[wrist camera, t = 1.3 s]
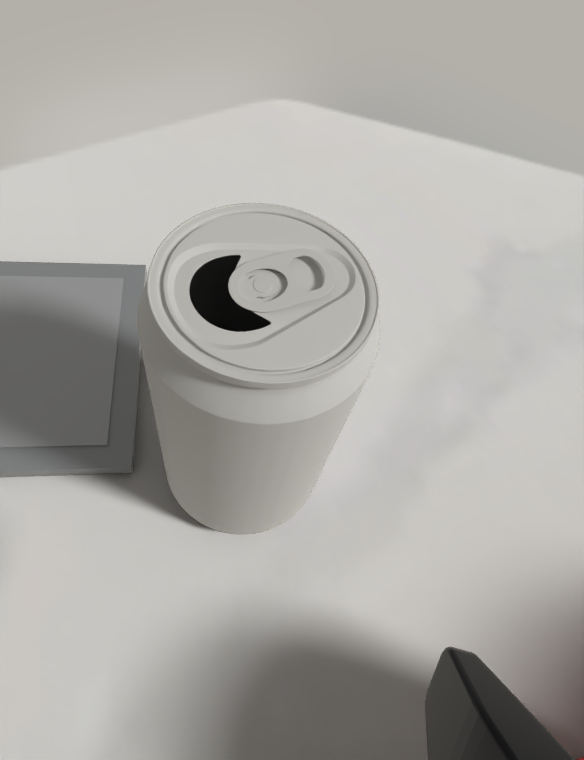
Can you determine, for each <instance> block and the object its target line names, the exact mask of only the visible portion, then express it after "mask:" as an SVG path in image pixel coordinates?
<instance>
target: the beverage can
mask: <svg viewBox="0 0 584 760" xmlns="http://www.w3.org/2000/svg"><path fill="white" fill-rule="evenodd" d="M378 311H379V289H378V285H377V281H376V277H375V275H374V272H373V270H372V268H371V266H370V264H369V262H368V260H367V259H366V257H365V256H364V255H363V253H362V252H361V251H360V249H359V248H358V247H357V246H356V245H355V244H354V243H353V242H352V241H351V240H350V239H349V238H348V237H347V236H346V235H345V234H343V233H342V232H341V231H339V230H338V229H336V228H335V227H334V226H332V225H330V224H329V223H327V222H325V221H323V220H321V219H320V218H318V217H315V216H313V215H311V214H308V213H306V212H303V211H300V210H297V209H293V208H289V207H285V206H280V205H273V204H263V203H244V204H233V205H227V206H222V207H218V208H214V209H211V210H208V211H206V212H203V213H201V214H198V215H196V216H194V217H192V218H190V219H189V220H187V221H185V222H184V223H182V224H181V225H179V226H178V227H177V228H176V229H174V230H173V231H172V232H171V233H170V234H169V235H168V236H167V237H166V238H165V239H164V241H163V242H162V243H161V244H160V246H159V247H158V249H157V251H156V253H155V255H154V258H153V260H152V263H151V266H150V268H149V272H148V278H147V282H146V284H145V287H144V289H143V292H142V294H141V297H140V300H139V303H138V309H137V331H138V336H139V341H140V346H141V351H142V356H143V361H144V366H145V371H146V376H147V381H148V386H149V391H150V396H151V401H152V406H153V411H154V416H155V421H156V426H157V431H158V436H159V441H160V446H161V451H162V456H163V461H164V466H165V471H166V476H167V480H168V483H169V486H170V489H171V491H172V493H173V495H174V497H175V498H176V500H177V501H178V503H179V504H180V506H181V507H182V508H183V509H184V510H185V511H186V512H187V513H188V514H189V515H190V516H191V517H193V518H194V519H195V520H197V521H198V522H200V523H201V524H203V525H205V526H207V527H209V528H212V529H214V530H217V531H221V532H225V533H230V534H254V533H259V532H263V531H267V530H270V529H272V528H274V527H276V526H278V525H280V524H282V523H283V522H285V521H287V520H288V519H289V518H291V517H292V516H293V515H294V514H295V513H296V512H297V511H298V510H299V509H300V508H301V507H302V506H303V504H304V503H305V502H306V500H307V499H308V497H309V495H310V493H311V491H312V489H313V487H314V485H315V483H316V481H317V479H318V477H319V475H320V473H321V471H322V469H323V467H324V465H325V463H326V461H327V459H328V457H329V455H330V453H331V451H332V449H333V447H334V445H335V442H336V440H337V438H338V436H339V434H340V432H341V430H342V428H343V426H344V424H345V422H346V420H347V418H348V416H349V414H350V412H351V410H352V408H353V406H354V404H355V402H356V400H357V398H358V396H359V394H360V392H361V390H362V388H363V385H364V383H365V381H366V379H367V377H368V375H369V373H370V371H371V369H372V367H373V365H374V363H375V360H376V357H377V354H378V350H379V344H380V320H379V315H378Z"/></svg>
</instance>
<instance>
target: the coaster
mask: <svg viewBox="0 0 584 760" xmlns="http://www.w3.org/2000/svg"><path fill="white" fill-rule="evenodd" d="M146 278H147V271H146V265H123V264H82V263H41V262H1V261H0V477H20V476H50V475H80V474H111V473H133V460H134V446H135V432H136V418H137V404H138V390H139V376H140V362H141V346H140V341H139V336H138V331H137V309H138V303H139V300H140V297H141V294H142V292H143V289H144V287H145V284H146Z"/></svg>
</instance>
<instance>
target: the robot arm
mask: <svg viewBox="0 0 584 760" xmlns="http://www.w3.org/2000/svg"><path fill="white" fill-rule="evenodd" d="M425 714H426V732H427V749H428V760H575V759H574V758H573V757H572V756H571V755H570V754H569V753H568V752H567V751H566V750H565V749H564V748H563V746H562V745H561V744H560V743H559V742H558V741H557V740H556V739H555V738H554V737H553V736H552V735H551V734H550V733H549V732H548V731H547V730H546V728H545V727H544V726H543V725H542V724H541V723H540V722H539V721H538V720H537V719H536V718H535V717H534V716H533V715H532V714H531V713H530V711H529V710H528V709H527V708H526V707H525V706H524V705H523V704H522V703H521V702H520V701H519V700H518V699H517V698H516V697H515V696H514V695H513V693H512V692H511V691H510V690H509V689H508V688H507V687H506V686H505V685H504V684H503V683H502V682H501V681H500V680H499V679H498V678H497V677H496V675H495V674H494V673H493V672H492V671H491V670H490V669H489V668H488V667H487V666H486V665H485V664H484V663H483V662H482V661H481V660H480V658H479V657H478V656H477V655H475V654H474V653H472V652H468V651H465V650H461V649H457V648H454V647H448V648H445V650H444V651H443V652H442V654H441V657H440V659H439V662H438V664H437V667H436V670H435V672H434V675H433V677H432V680H431V683H430V685H429V688H428V691H427V695H426V701H425Z"/></svg>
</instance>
